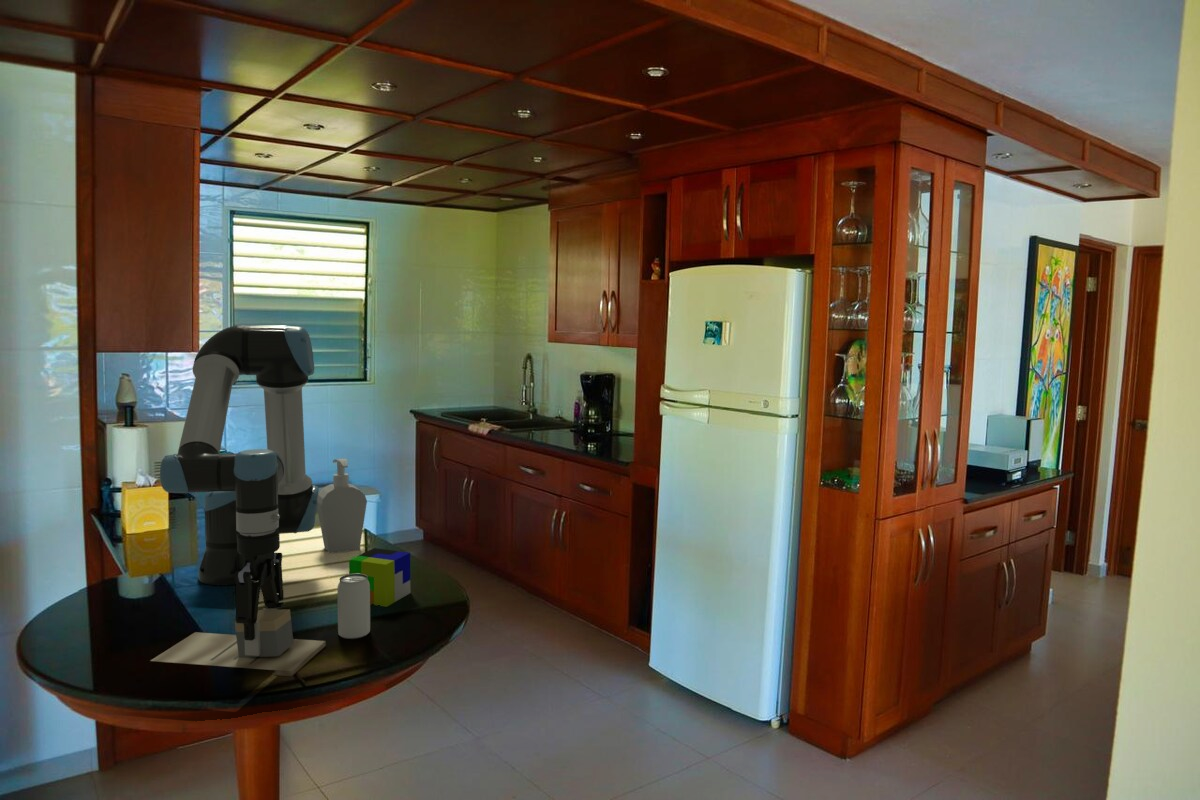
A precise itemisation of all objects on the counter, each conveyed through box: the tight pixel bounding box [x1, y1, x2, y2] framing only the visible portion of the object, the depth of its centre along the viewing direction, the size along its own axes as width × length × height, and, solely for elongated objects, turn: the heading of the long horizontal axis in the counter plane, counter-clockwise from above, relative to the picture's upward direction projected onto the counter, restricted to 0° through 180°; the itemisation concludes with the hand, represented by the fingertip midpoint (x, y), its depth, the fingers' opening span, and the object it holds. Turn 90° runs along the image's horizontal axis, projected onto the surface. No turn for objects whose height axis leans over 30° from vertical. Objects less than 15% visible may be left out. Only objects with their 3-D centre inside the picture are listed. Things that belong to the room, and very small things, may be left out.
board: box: [149, 631, 327, 677], centre depth 158 cm, size 28×14×1 cm, turn 83°
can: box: [336, 573, 371, 640], centre depth 170 cm, size 6×6×12 cm
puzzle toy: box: [348, 547, 411, 608], centre depth 192 cm, size 10×10×10 cm
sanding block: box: [234, 608, 294, 657], centre depth 157 cm, size 8×6×7 cm
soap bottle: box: [316, 458, 368, 554], centre depth 228 cm, size 12×10×26 cm
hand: (262, 647), depth 158 cm, fingers open, 6 cm apart
